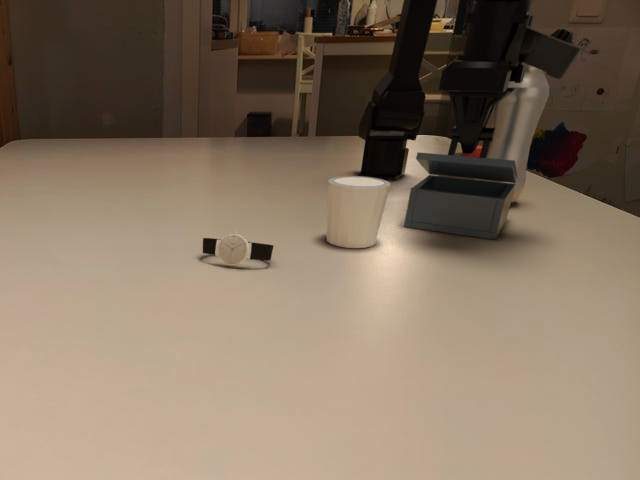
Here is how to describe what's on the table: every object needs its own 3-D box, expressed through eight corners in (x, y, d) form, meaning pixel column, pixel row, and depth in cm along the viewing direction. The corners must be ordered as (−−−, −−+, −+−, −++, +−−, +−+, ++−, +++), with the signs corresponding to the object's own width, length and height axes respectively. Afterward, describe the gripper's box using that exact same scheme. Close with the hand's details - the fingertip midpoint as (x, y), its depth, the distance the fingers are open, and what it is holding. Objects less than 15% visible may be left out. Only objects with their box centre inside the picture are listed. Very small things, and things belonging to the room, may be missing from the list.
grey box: (494, 239, 73) (505, 199, 71) (403, 226, 79) (410, 188, 76) (506, 220, 81) (515, 183, 79) (422, 209, 86) (429, 174, 84)
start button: (482, 160, 103) (485, 149, 102) (459, 158, 105) (462, 147, 104) (486, 156, 106) (488, 146, 105) (463, 155, 108) (466, 144, 107)
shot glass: (384, 236, 75) (394, 177, 71) (376, 252, 69) (387, 189, 66) (327, 230, 77) (334, 173, 74) (315, 245, 72) (322, 184, 68)
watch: (195, 263, 66) (196, 230, 64) (209, 251, 70) (210, 219, 68) (266, 272, 63) (269, 238, 62) (276, 258, 67) (279, 226, 66)
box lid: (513, 167, 69) (524, 126, 68) (415, 158, 74) (425, 120, 74) (515, 183, 79) (526, 146, 78) (429, 174, 84) (437, 140, 83)
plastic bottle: (508, 197, 92) (546, 48, 83) (527, 208, 87) (571, 49, 77) (464, 196, 93) (497, 49, 84) (480, 207, 87) (517, 49, 78)
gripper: (586, -5, 56) (537, 172, 63) (592, 2, 69) (551, 147, 77) (454, -1, 61) (423, 162, 68) (484, 5, 75) (456, 140, 82)
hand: (468, 152), depth 74 cm, fingers closed on box lid
